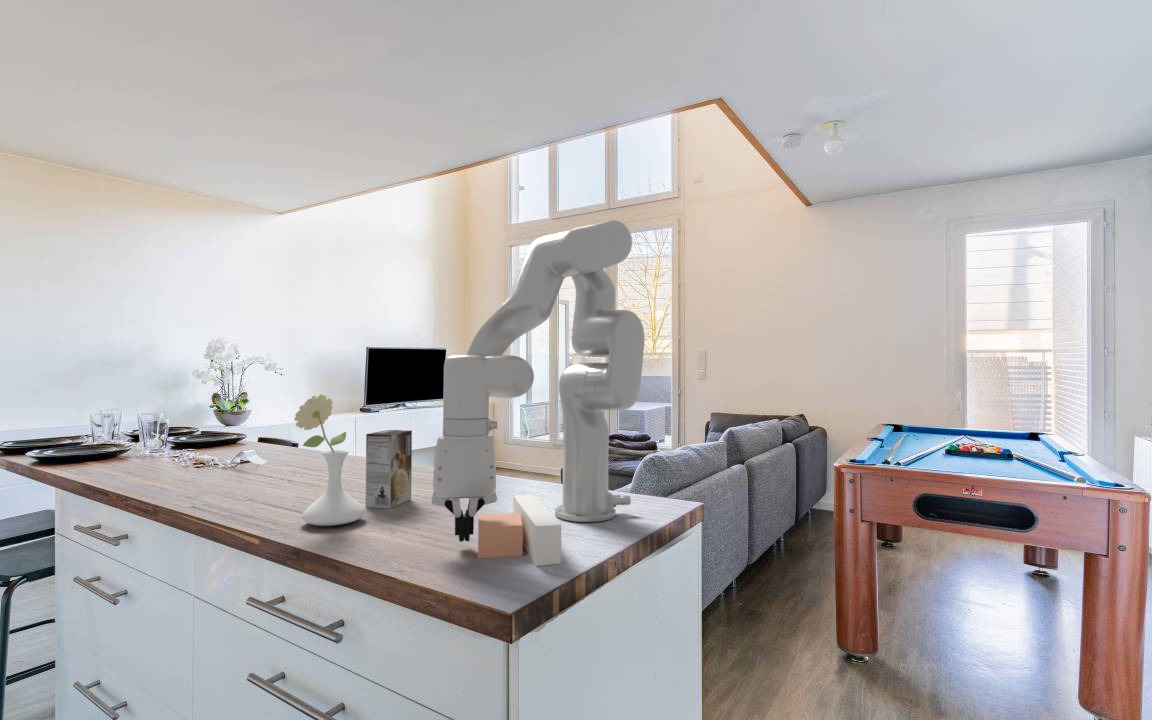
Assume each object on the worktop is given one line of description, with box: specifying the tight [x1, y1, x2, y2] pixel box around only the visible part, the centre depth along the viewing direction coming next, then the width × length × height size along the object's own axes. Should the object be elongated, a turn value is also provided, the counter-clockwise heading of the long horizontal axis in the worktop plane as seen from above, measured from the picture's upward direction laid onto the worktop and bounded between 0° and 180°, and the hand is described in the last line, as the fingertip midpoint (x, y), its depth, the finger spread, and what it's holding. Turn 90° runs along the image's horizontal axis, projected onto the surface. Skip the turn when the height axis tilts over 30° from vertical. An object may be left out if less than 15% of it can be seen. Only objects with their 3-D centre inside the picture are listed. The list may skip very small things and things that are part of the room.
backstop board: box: [512, 494, 562, 567], centre depth 96 cm, size 4×22×6 cm, turn 15°
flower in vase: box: [293, 393, 366, 527], centre depth 108 cm, size 13×11×25 cm
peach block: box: [477, 513, 523, 559], centre depth 93 cm, size 7×8×5 cm
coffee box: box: [365, 429, 413, 510], centre depth 125 cm, size 9×6×16 cm
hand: (463, 538), depth 93 cm, fingers closed
